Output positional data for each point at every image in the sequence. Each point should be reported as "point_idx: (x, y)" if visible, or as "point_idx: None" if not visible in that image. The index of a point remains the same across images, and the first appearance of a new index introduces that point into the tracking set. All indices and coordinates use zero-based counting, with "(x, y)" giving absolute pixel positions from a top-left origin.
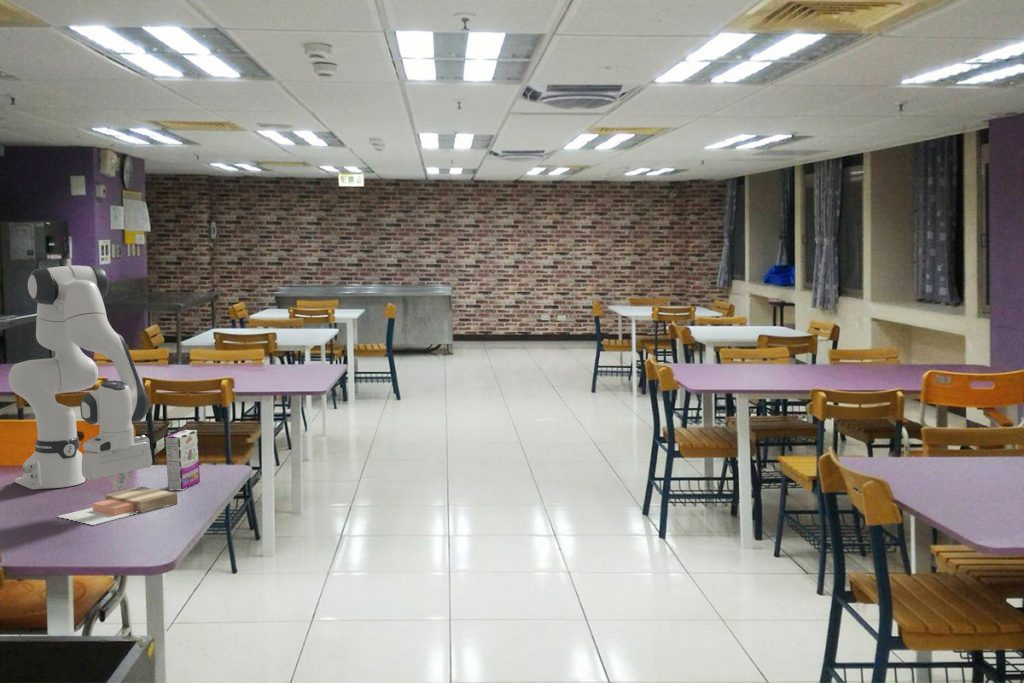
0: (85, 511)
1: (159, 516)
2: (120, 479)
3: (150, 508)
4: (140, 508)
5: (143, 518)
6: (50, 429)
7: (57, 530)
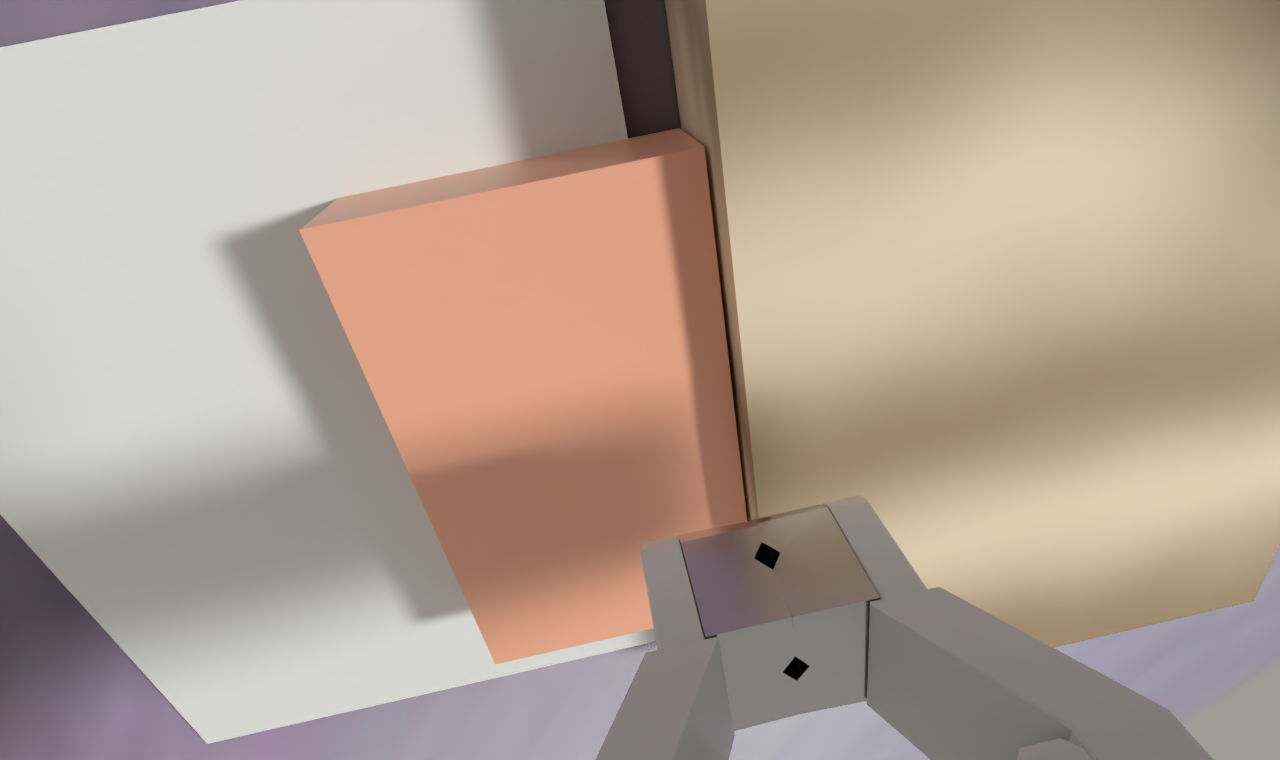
0: (214, 165)
1: (778, 746)
2: (930, 650)
3: None
4: None
5: None
6: None
7: None
